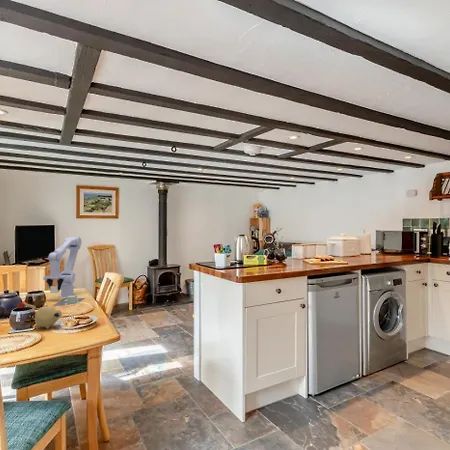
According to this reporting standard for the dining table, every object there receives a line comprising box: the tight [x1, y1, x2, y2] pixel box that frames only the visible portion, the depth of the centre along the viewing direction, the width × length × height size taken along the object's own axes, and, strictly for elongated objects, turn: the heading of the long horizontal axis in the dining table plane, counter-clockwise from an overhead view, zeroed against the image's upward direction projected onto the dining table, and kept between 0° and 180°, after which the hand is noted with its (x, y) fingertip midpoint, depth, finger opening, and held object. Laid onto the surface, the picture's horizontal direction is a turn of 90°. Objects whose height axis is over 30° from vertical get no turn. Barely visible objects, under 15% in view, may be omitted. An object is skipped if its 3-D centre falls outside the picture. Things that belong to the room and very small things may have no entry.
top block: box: [49, 284, 61, 294], centre depth 213 cm, size 4×4×4 cm
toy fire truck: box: [16, 301, 37, 311], centre depth 169 cm, size 3×14×10 cm, turn 84°
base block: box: [66, 295, 78, 304], centre depth 206 cm, size 4×4×4 cm
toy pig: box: [34, 306, 63, 330], centre depth 159 cm, size 10×12×11 cm
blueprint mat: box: [52, 297, 86, 307], centre depth 210 cm, size 20×14×1 cm
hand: (55, 290), depth 213 cm, fingers closed on top block, 4 cm apart
